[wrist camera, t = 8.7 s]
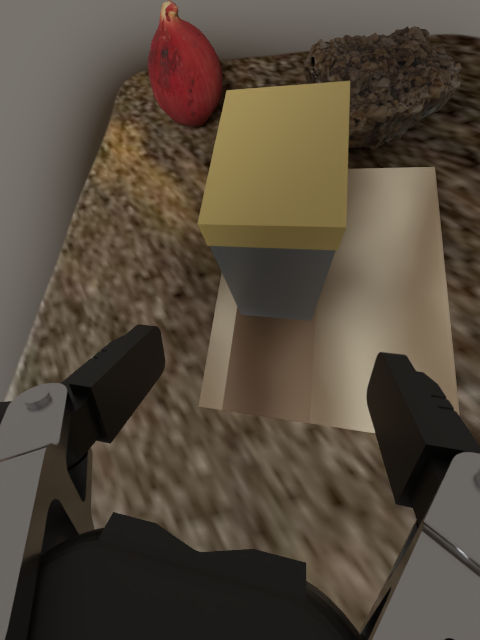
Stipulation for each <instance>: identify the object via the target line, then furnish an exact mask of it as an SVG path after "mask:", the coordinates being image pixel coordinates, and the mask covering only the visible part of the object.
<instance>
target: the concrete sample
mask: <svg viewBox="0 0 480 640" xmlns="http://www.w3.org/2000/svg"><path fill="white" fill-rule="evenodd" d="M428 37H429V32H428V31H427V30H425V29H420V28H419V27H412V28H410V29H409V28H408V27H406V28H405V29H402V30H396V31H395V32H394V33H392V34H391V35H389V36H385V35H377V34H376V33H375V34H373V35H371V36H369V37H366V36H362V37H361V36H354V37H351V36H349V35H345V36H344V37H343V38H335V39H334V40H332V39H331V40H330V42H324V41H322V40H321V39H320V40H319V41H318V42H317V44H315V45H313V46H312V48H311V50H310V52H309V54H308V55H307V58H306V60H305V62H304V66H305V67H304V74H305V76H306V79H307V82H308V83H309V84H315V83H328V82H340V81H350V105H349V143H348V148H354V147H362V146H364V147H368V148H370V149H372V150H374V149H377V147H378V146H381V145H383V144H384V143H385V142H389V141H394V140H397V139H400V138H401V137H402V136H403V135H404V134H405V133H406V131H407V130H408V128H409V129H411V128H412V127H413V126H414V125H415V124H416V123H418V122H419V121H420V120H422V119H423V118H425V117H426V116H428V115H429V114H431V113H432V112H433V113H435V112H437V111H440V110H441V108H442V107H443V106H444V105H445V104H446V103H447V102H448V100H449V99H450V97H451V96H452V95H453V94H454V93H455V89H458V88H459V86H460V84H461V82H459V80H458V73H459V71H460V70H461V69H462V67H461V64H460V63H455V61H453V59H452V57H450V56H449V55H447V53H446V52H445V50H444V46H443V45H437V46H431V45H430V41H429V39H428Z"/></svg>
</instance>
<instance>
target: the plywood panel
mask: <svg viewBox="0 0 480 640" xmlns="http://www.w3.org/2000/svg"><path fill="white" fill-rule="evenodd" d="M379 352H386V353H395V354H404V355H406V356H407V357H408V358H409V360H410V362H411V363H412V365H413V367H414V368H415V370H416V371H418V372H424V373H425V374H426V375H427V376H429V377H430V378H431V379H432V380H434V381H435V382H436V383H437V384H438V385H439V387H440V388H441V390H442V391H443V393H444V394H445V395H446V399H447V400H449V401H450V403H451V404H452V406H453V407H454V411H456V412H457V413H458V415H459V406H458V396H457V386H456V376H455V366H454V355H453V345H452V335H451V325H450V315H449V305H448V295H447V285H446V275H445V265H444V254H443V244H442V234H441V224H440V214H439V204H438V194H437V184H436V174H435V167H410V168H364V169H348V180H347V218H346V229H345V232H344V235H343V238H342V240H341V243H340V246H339V249H338V250H336V251H335V254H334V257H333V260H332V263H331V266H330V268H329V271H328V274H327V277H326V280H325V283H324V285H323V288H322V291H321V294H320V297H319V300H318V303H317V305H316V308H315V311H314V314H313V317H312V320H311V321H308V320H297V319H285V318H273V317H261V316H250V315H241V313H240V311H239V309H238V307H237V305H236V302H235V300H234V298H233V296H232V294H231V291H230V289H229V287H228V285H227V283H226V281H225V278H224V276H223V274H222V273H221V279H220V285H219V291H218V297H217V302H216V308H215V314H214V320H213V326H212V331H211V337H210V343H209V349H208V355H207V360H206V366H205V372H204V378H203V384H202V389H201V395H200V401H199V406H200V407H206V408H213V409H219V410H225V411H231V412H238V413H244V414H251V415H258V416H264V417H271V418H277V419H284V420H290V421H297V422H304V423H311V424H318V425H325V426H331V427H338V428H344V429H351V430H357V431H364V432H370V433H375V430H374V427H373V423H372V420H371V416H370V413H369V409H368V406H367V398H366V395H367V387H368V384H369V380H370V377H371V374H372V370H373V367H374V363H375V360H376V357H377V355H378V353H379Z"/></svg>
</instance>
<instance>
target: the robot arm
mask: <svg viewBox="0 0 480 640" xmlns="http://www.w3.org/2000/svg"><path fill="white" fill-rule="evenodd" d="M164 367H165V356H164V350H163V344H162V338H161V332H160V329H159V328H158V327H156V326H147V325H137V326H135V327H134V328H133V329H132V330H131V331H129V332H128V333H127V334H126V335H124V336H122V337H120V338H118V339H116V340H114V341H112V342H110V343H109V344H108V345H107V346H105V347H104V348H103V349H102V350H101V352H100V351H99V352H98V353H97V354H96V355H94V356H93V359H92V358H91V359H90V360H88V361H87V362H86V363H85V364H84V365H82V366H81V367H80V368H79V369H78V370H76V371H75V372H74V373H73V374H72V375H70V376H69V377H68V378H67V379H65V380H64V381H63V382H62V383H61V384H60V383H47V384H42V385H39V386H36V387H33V388H31V389H29V390H27V391H25V392H23V393H22V394H20V395H19V396H17V397H16V398H15V399H14V400H13V401H8V402H0V640H480V446H479V445H478V443H477V442H476V440H475V439H474V437H473V436H472V434H471V433H470V431H469V430H468V428H467V427H466V425H465V424H464V422H463V421H462V419H461V418H460V416H459V415H458V413H457V412H456V411H454V407H453V406H452V404H451V403H450V401H449V400H447V399H446V395H445V394H444V393H443V391H442V390H441V388H440V387H439V385H438V384H437V383H436V382H435V381H434V380H432V379H431V378H430V377H429V376H427V375H426V374H425V373H424V372H418V371H416V370H415V368H414V367H413V365H412V363H411V362H410V360H409V358H408V357H407V356H406V355H404V354H395V353H386V352H379V353H378V355H377V357H376V360H375V363H374V367H373V370H372V374H371V377H370V380H369V384H368V387H367V395H366V398H367V406H368V409H369V413H370V416H371V420H372V423H373V427H374V430H375V434H376V437H377V441H378V444H379V447H380V451H381V454H382V458H383V461H384V465H385V468H386V472H387V475H388V479H389V482H390V485H391V489H392V492H393V496H394V499H395V503H396V504H397V505H401V506H406V507H411V508H413V510H414V513H415V516H416V519H417V520H416V522H415V524H414V525H413V527H412V529H411V531H410V533H409V535H408V537H407V540H406V542H405V544H404V546H403V548H402V550H401V552H400V554H399V556H398V558H397V560H396V562H395V564H394V566H393V568H392V570H391V572H390V574H389V576H388V578H387V580H386V582H385V584H384V586H383V588H382V590H381V592H380V594H379V596H378V597H377V599H376V601H375V603H374V605H373V607H372V608H371V610H370V612H369V614H368V616H367V618H366V620H365V622H364V624H363V626H362V628H361V630H360V632H358V631H357V629H356V628H355V627H354V625H353V624H352V623H351V622H350V620H349V619H348V618H347V617H346V616H345V614H344V613H343V612H342V611H341V610H340V609H339V608H338V607H337V606H336V605H335V604H334V603H333V602H332V601H331V599H330V598H328V597H327V596H326V595H325V594H324V593H322V592H321V591H320V590H319V589H318V588H316V587H315V586H313V585H312V584H310V583H309V582H307V581H306V563H305V562H301V561H297V560H293V559H290V558H286V557H282V556H278V555H274V554H271V553H267V552H263V551H259V550H255V549H246V550H230V551H214V552H198V551H196V550H194V549H192V548H191V547H189V546H188V545H186V544H185V543H184V542H182V541H181V540H179V539H178V538H176V537H175V536H173V535H172V534H170V533H169V532H168V531H166V530H165V529H163V528H162V527H160V526H159V525H157V524H156V523H153V522H149V521H145V520H141V519H137V518H133V517H130V516H126V515H122V514H118V513H114V512H113V514H112V516H111V517H110V519H109V521H108V523H107V524H106V526H105V528H100V529H96V530H94V525H93V521H92V516H91V485H92V450H91V446H92V445H93V444H94V443H95V441H101V442H106V443H111V442H112V441H113V439H114V438H115V437H116V435H117V434H118V433H119V431H120V430H121V429H122V427H123V426H124V425H125V423H126V422H127V420H128V419H129V418H130V416H131V415H132V414H133V412H134V411H135V410H136V408H137V407H138V406H139V404H140V403H141V402H142V400H143V399H144V397H145V396H146V395H147V393H148V392H149V391H150V389H151V388H152V387H153V385H154V384H155V383H156V381H157V380H158V379H159V377H160V376H161V374H162V373H163V370H164Z"/></svg>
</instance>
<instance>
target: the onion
mask: <svg viewBox="0 0 480 640" xmlns="http://www.w3.org/2000/svg"><path fill="white" fill-rule="evenodd" d="M177 13H178V7H177V6H176V5H175V4H174V3H173V2H172V1H170V0H168V1H167V2H165V3H164V4H163V5H162V9H161V13H160V23H159V26H158V29H157V31H156V33H155V35H154V37H153V40H152V43H151V49H150V53H149V57H148V70H149V78H150V82H151V86H152V89H153V93H154V96H155V98H156V100H157V102H158V104H159V105H160V107H161V109H162V110H163V111H164V112H166V113H167V114H168V115H169V116H170V117H171V118H172V119H173V120H174V121H175V122H177V123H180V124H182V125H186V126H197V127H200V126H203V125H204V124H205V122H206V121H207V120H208V119H209V117H210V116H211V115H212V113H213V112H214V110H215V108H216V107H217V105H218V103H219V100H220V96H221V92H222V70H221V66H220V62H219V58H218V56H217V54H216V52H215V50H214V48H213V47H212V45H211V44H210V43H209V41H208V40H207V38H206V37H205V35H204V34H203V33H202V32H201V31H200V30H199V29H197V28H196V27H195V26H193V25H192V24H190V23H188V22H186V21H184V20H181V19H180V18H179V16H178V14H177Z"/></svg>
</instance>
